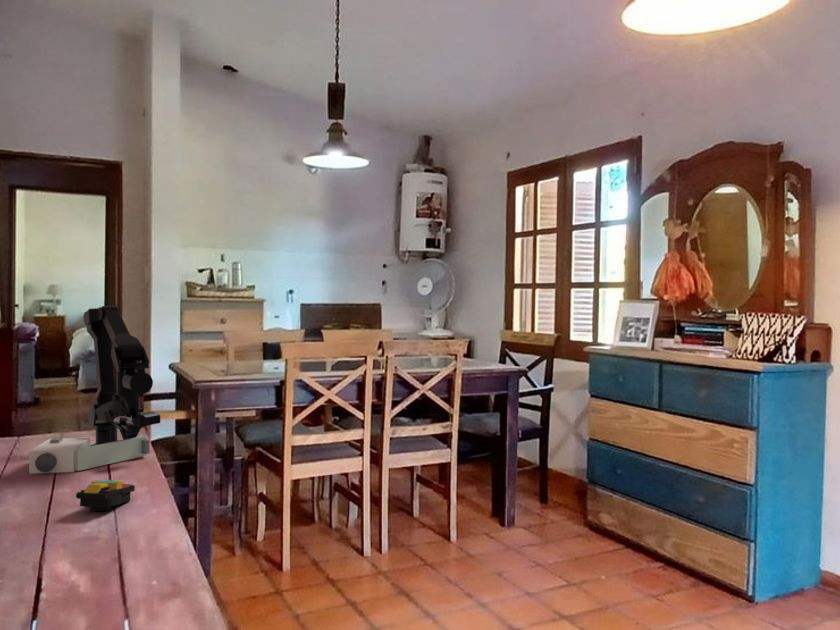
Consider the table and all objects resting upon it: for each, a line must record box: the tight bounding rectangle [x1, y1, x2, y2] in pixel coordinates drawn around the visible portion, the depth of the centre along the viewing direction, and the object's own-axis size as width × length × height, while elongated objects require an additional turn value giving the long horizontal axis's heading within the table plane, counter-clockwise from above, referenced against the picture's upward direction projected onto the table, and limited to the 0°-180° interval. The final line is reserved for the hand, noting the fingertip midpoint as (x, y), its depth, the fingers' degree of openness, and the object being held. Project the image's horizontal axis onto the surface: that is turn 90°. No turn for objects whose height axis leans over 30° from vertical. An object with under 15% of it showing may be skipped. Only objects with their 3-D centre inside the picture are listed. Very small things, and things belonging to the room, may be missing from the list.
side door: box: [75, 435, 150, 472], centre depth 181 cm, size 19×3×5 cm, turn 147°
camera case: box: [28, 437, 91, 475], centre depth 178 cm, size 15×10×6 cm, turn 10°
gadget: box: [75, 479, 136, 512], centre depth 146 cm, size 6×13×6 cm, turn 172°
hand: (128, 448), depth 188 cm, fingers closed
